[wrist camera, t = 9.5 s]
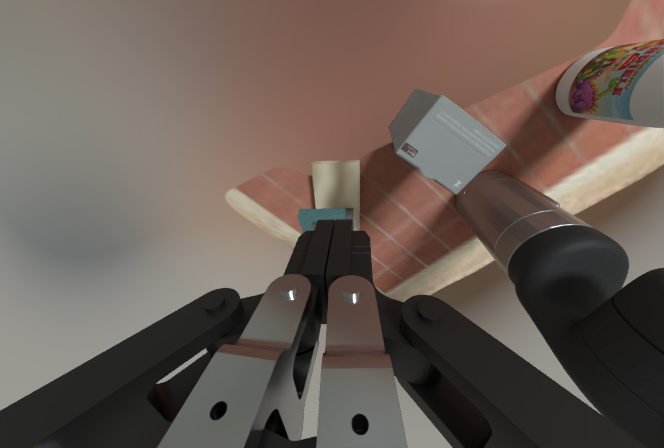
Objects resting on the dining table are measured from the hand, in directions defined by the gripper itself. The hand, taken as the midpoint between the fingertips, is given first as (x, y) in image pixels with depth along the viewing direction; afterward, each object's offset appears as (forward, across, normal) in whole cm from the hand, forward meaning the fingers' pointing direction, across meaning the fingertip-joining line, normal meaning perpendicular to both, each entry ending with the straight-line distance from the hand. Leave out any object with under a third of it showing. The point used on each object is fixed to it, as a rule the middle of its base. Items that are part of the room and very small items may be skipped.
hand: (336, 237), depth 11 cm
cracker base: (+31, +3, +14) cm, 34 cm away
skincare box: (+31, -10, 0) cm, 33 cm away
